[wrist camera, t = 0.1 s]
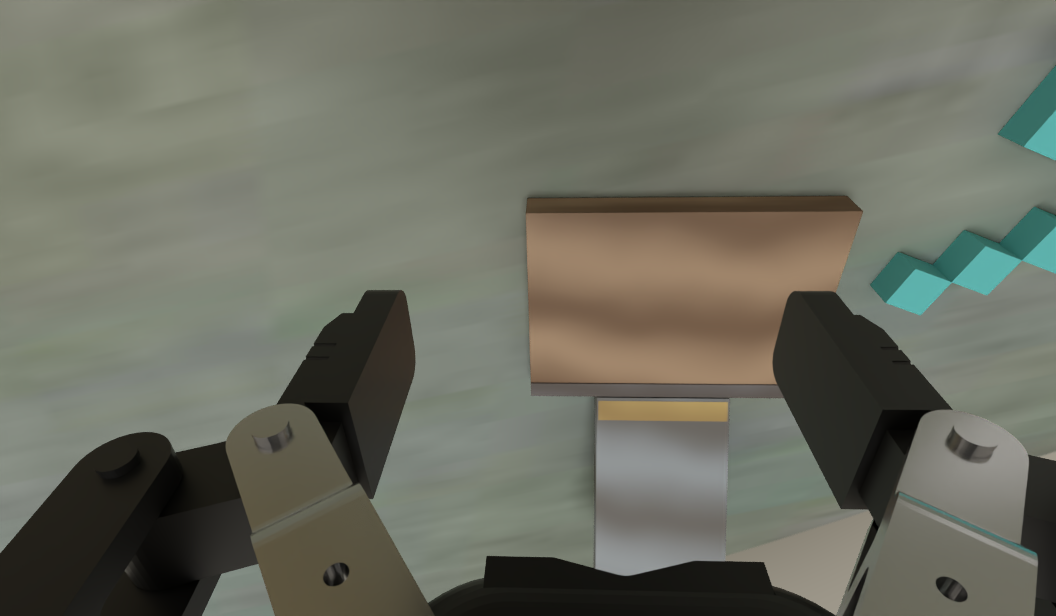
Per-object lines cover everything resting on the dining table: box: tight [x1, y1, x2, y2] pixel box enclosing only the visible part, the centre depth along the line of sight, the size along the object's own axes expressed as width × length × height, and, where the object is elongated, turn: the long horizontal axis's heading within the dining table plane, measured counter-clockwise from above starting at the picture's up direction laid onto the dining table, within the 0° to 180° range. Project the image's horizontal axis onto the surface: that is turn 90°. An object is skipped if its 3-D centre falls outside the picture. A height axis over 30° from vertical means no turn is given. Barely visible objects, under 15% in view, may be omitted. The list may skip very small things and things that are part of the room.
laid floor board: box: [526, 196, 863, 398], centre depth 31 cm, size 12×16×2 cm
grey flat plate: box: [594, 396, 730, 576], centre depth 36 cm, size 14×8×2 cm, turn 2°
